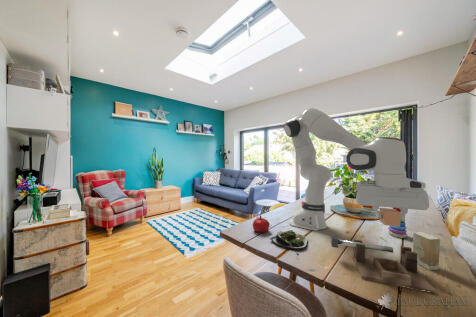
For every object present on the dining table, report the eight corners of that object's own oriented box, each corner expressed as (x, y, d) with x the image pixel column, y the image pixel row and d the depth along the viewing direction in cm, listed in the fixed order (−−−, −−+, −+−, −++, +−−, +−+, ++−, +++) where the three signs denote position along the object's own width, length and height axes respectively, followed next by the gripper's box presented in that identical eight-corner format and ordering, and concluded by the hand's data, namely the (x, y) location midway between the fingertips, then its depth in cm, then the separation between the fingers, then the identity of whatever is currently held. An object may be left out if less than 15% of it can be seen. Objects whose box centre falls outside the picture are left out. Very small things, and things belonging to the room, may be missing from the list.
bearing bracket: (361, 278, 63) (361, 256, 63) (352, 257, 76) (352, 239, 76) (436, 293, 56) (436, 269, 56) (411, 267, 69) (411, 247, 69)
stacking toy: (411, 239, 92) (411, 203, 91) (393, 238, 93) (393, 203, 93) (400, 232, 99) (400, 200, 99) (384, 231, 101) (384, 199, 101)
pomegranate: (264, 236, 98) (264, 219, 97) (249, 231, 104) (249, 216, 103) (272, 229, 106) (272, 214, 105) (258, 225, 112) (258, 211, 111)
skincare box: (412, 260, 73) (412, 231, 73) (421, 260, 74) (421, 231, 73) (430, 270, 67) (430, 239, 67) (440, 270, 67) (440, 238, 67)
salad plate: (278, 230, 105) (277, 222, 105) (309, 236, 97) (309, 228, 97) (267, 244, 88) (267, 235, 88) (304, 254, 80) (304, 244, 80)
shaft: (331, 246, 75) (331, 238, 75) (330, 242, 78) (330, 235, 78) (394, 256, 67) (394, 247, 67) (390, 252, 71) (390, 243, 71)
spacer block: (384, 225, 62) (384, 211, 62) (379, 220, 67) (379, 207, 67) (400, 226, 61) (400, 212, 61) (394, 222, 65) (394, 208, 65)
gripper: (357, 181, 64) (357, 218, 65) (432, 184, 57) (432, 226, 57) (353, 179, 70) (353, 213, 70) (420, 181, 63) (420, 219, 63)
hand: (389, 219), depth 64 cm, fingers closed on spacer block, 4 cm apart
